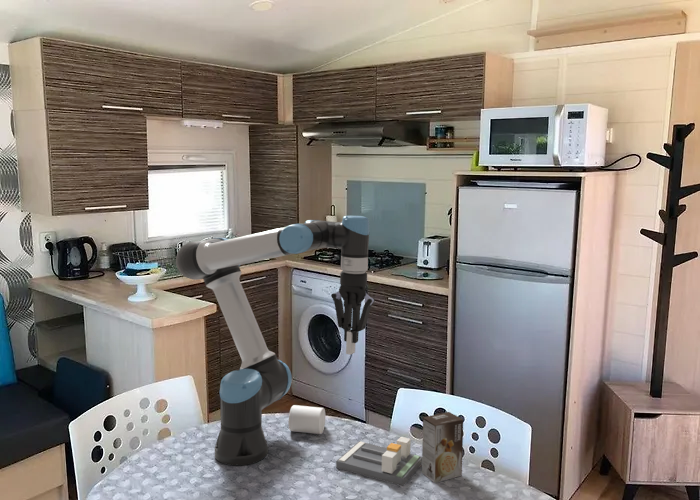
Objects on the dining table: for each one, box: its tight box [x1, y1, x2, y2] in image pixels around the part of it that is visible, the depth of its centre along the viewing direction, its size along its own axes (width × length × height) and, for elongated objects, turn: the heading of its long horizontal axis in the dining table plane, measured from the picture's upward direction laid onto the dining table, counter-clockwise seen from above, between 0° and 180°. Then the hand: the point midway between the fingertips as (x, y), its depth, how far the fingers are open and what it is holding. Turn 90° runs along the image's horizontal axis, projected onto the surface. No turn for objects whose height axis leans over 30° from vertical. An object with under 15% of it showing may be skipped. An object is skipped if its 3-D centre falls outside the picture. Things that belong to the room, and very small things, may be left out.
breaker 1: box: [382, 451, 397, 474], centre depth 156 cm, size 3×3×4 cm
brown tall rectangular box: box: [421, 411, 464, 484], centre depth 158 cm, size 9×6×16 cm
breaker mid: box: [386, 442, 401, 464], centre depth 161 cm, size 3×3×4 cm
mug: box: [288, 404, 326, 435], centre depth 186 cm, size 12×10×8 cm
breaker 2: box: [396, 436, 412, 458], centre depth 165 cm, size 3×3×4 cm
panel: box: [335, 441, 422, 487], centre depth 163 cm, size 20×14×3 cm
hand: (350, 353), depth 166 cm, fingers closed
